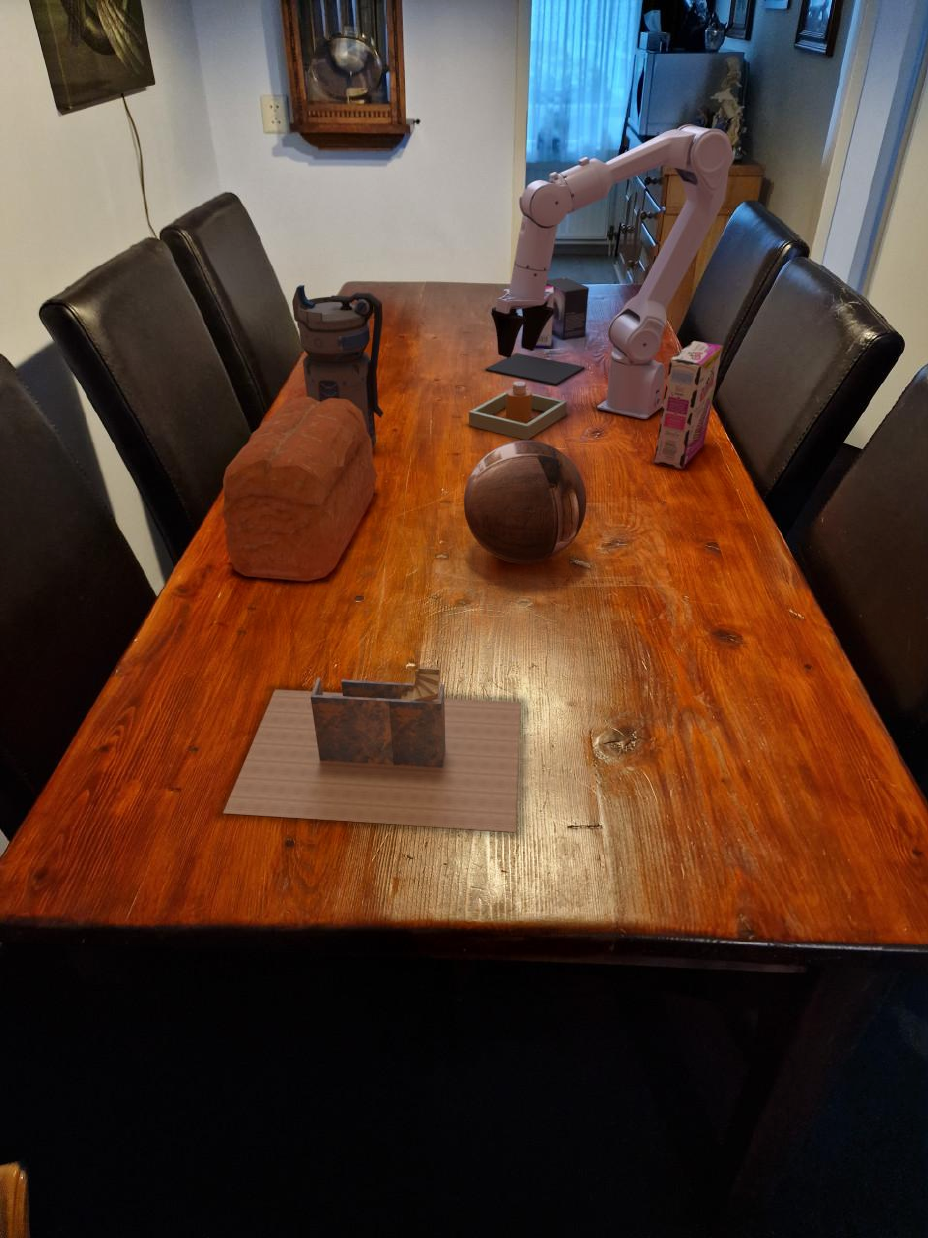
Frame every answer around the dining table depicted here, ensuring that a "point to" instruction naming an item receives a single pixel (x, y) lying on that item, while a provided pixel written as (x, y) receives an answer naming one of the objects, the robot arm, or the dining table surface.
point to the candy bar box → (687, 403)
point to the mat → (535, 369)
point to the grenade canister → (341, 349)
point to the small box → (569, 308)
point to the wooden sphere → (525, 502)
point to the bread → (298, 490)
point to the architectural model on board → (384, 757)
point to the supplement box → (546, 328)
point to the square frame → (486, 421)
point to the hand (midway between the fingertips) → (516, 352)
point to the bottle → (519, 403)
